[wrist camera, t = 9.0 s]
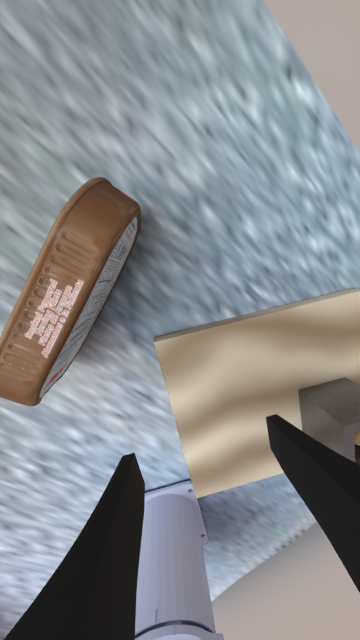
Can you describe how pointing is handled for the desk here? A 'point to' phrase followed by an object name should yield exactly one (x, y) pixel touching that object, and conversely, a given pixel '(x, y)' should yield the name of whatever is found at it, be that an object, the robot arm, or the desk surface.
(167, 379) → the board
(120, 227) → the tin
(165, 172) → the desk surface
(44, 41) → the desk surface
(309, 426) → the grey hollow cube
